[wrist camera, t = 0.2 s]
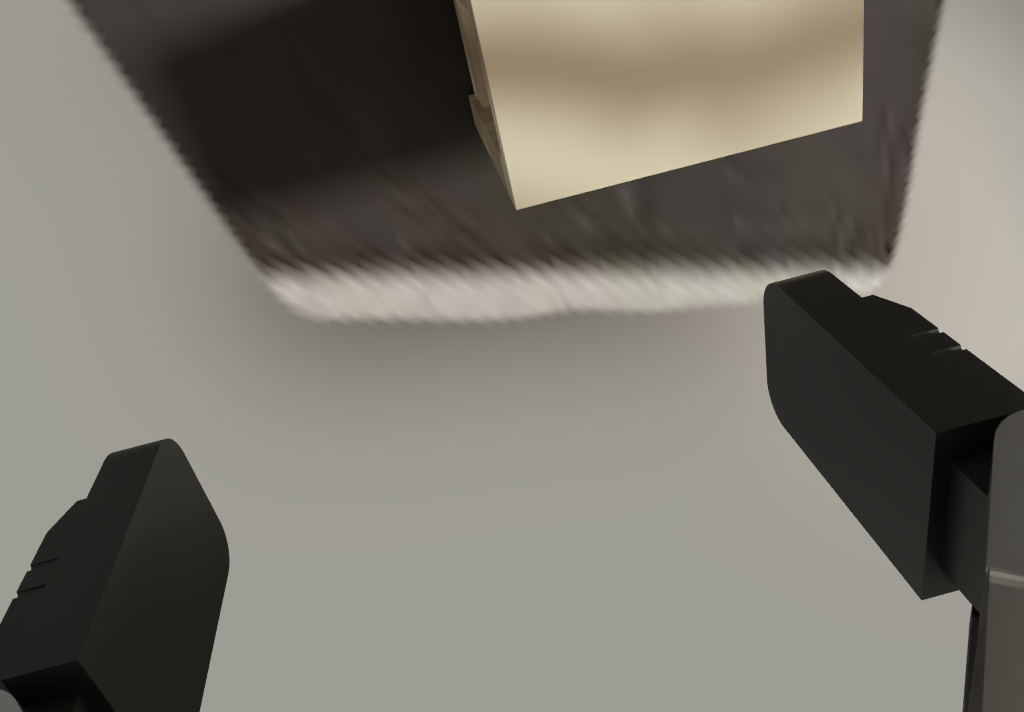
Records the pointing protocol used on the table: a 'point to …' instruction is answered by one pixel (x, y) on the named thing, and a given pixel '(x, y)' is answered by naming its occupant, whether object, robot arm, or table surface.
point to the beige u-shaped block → (651, 83)
